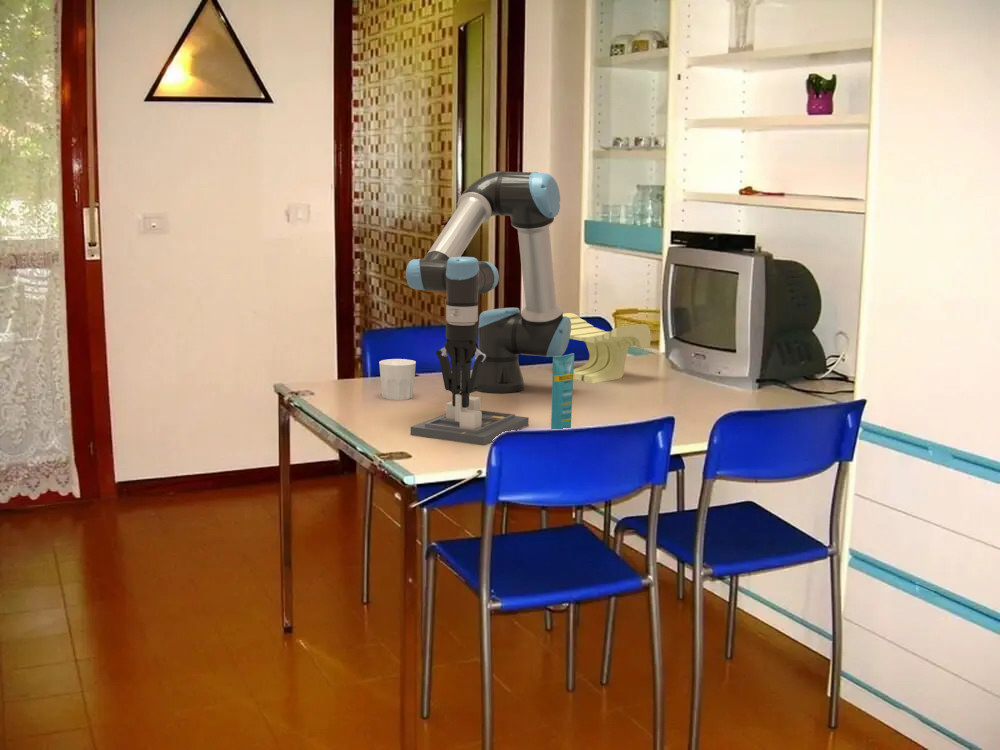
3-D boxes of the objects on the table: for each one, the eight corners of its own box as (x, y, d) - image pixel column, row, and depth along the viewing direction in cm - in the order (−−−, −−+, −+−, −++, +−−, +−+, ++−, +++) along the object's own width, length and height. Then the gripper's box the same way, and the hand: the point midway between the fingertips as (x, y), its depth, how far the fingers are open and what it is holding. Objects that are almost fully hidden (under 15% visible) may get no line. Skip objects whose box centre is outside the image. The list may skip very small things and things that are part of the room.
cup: (421, 399, 324) (422, 363, 323) (389, 402, 319) (389, 366, 317) (405, 392, 333) (405, 357, 331) (373, 395, 328) (373, 360, 326)
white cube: (459, 428, 280) (459, 412, 279) (466, 425, 283) (466, 409, 283) (474, 430, 278) (474, 414, 278) (481, 427, 282) (481, 411, 281)
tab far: (459, 414, 296) (459, 398, 295) (466, 411, 299) (466, 396, 298) (473, 415, 294) (473, 400, 293) (480, 413, 297) (480, 397, 297)
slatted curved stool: (648, 381, 356) (651, 322, 353) (614, 387, 345) (616, 327, 342) (575, 367, 378) (577, 312, 374) (541, 372, 367) (542, 316, 363)
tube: (559, 435, 285) (561, 357, 281) (544, 432, 288) (546, 355, 284) (578, 430, 290) (580, 354, 287) (562, 427, 293) (564, 351, 290)
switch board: (410, 434, 283) (410, 423, 282) (458, 416, 304) (458, 405, 304) (484, 445, 274) (484, 433, 274) (528, 425, 295) (528, 414, 295)
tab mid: (445, 419, 290) (446, 403, 289) (453, 416, 293) (453, 400, 292) (460, 421, 288) (460, 405, 287) (467, 418, 291) (467, 402, 290)
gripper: (429, 322, 277) (429, 420, 281) (478, 327, 271) (477, 426, 276) (445, 318, 284) (444, 414, 288) (493, 323, 278) (491, 420, 282)
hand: (460, 420), depth 282 cm, fingers closed
